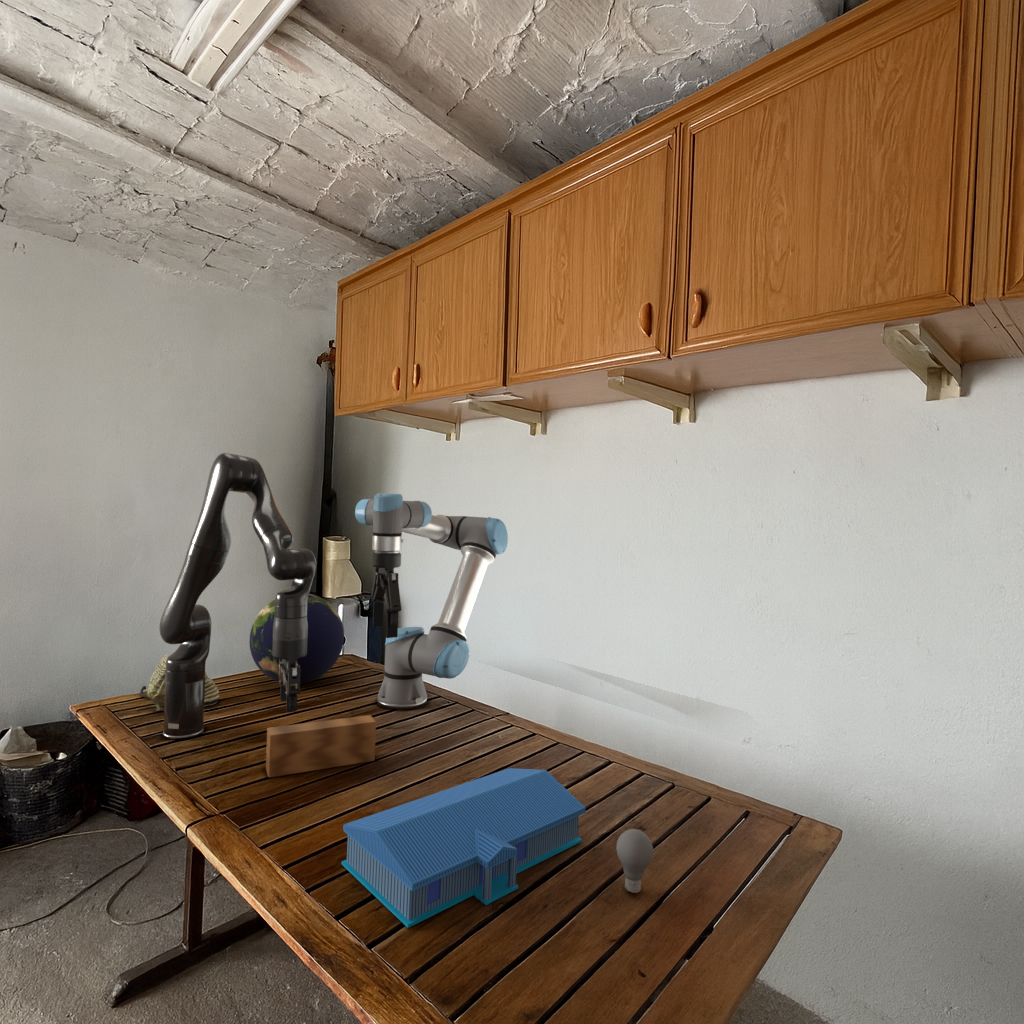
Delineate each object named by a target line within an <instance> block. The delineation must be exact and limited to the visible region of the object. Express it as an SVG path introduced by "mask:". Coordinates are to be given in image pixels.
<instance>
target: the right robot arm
mask: <svg viewBox="0 0 1024 1024" xmlns="http://www.w3.org/2000/svg"><path fill="white" fill-rule="evenodd" d="M403 498H404V497H403V495H402V494H401V493H382V492H378V493H376V494H375V495H374V497H373V498H363V499H361V500H359V501H358V502H357V504H355V505H356V506H355V508H354V510H355V511H354V516H355V519H356V521H357V522H358V523H359V524H361V525H366V526H372V542H371V543H372V544H371V545H372V546H371V550H372V551H373V552H372V554H371V566H372V567H374V577H373V583H372V588H371V594H370V598H371V599H372V602H373V603H372V627H373V628H377V627H384V611H385V613H386V632H385V635H386V636H385V643H384V674H383V675H384V676H383V680H382V682H381V686H380V687H379V691H378V692H377V693H378V694H377V698H376V703H377V705H378V706H379V707H381V708H384V709H388V710H397V711H398V710H399V711H400V710H402V711H404V710H405V711H406V710H413V709H419V708H421V707H423V706H425V705H426V704H427V702H428V694H427V691H426V685H425V684H424V680H423V675H427V676H431V677H436V678H439V679H448V680H449V679H450V680H451V679H455V678H456V677H458V676H459V675H461V674H462V673H463V671H464V670H465V668H466V667H467V664H468V662H469V658H470V646H469V644H468V643H467V641H468V637H467V636H466V633H465V631H466V628H467V625H468V623H469V620H470V617H471V614H472V612H473V609H474V605H475V603H476V601H477V597H478V595H479V591H480V588H481V586H482V584H483V580H484V577H485V574H486V571H487V569H488V566H489V565H491V564H492V563H494V562H495V560H496V557H497V555H498V556H499V555H502V554H504V553H505V552H506V550H507V547H508V543H509V536H508V529H507V527H506V524H505V523H504V521H502V519H500V518H496V517H491V516H488V517H484V516H482V517H481V516H480V517H479V516H467V515H445V514H436V515H433V512H432V508H431V507H430V505H429V503H427V502H426V501H421V500H404V499H403ZM403 533H406V534H409V535H412V536H413V535H414V536H418V537H422V538H427V539H429V541H430V542H432V543H434V544H437V545H441V546H443V547H448V548H450V549H452V550H453V549H454V550H457V551H460V553H461V555H462V557H461V560H460V562H459V566H458V568H457V570H456V573H455V576H454V580H453V581H452V584H451V587H450V590H449V592H448V595H447V598H446V601H445V603H444V606H443V608H442V611H441V614H440V617H439V619H438V622H437V623H435V624H433V625H432V626H431V627H430V629H429V631H428V633H427V634H426V633H425V628H423V627H422V626H406V627H405V626H404V627H399V612H401V611H402V602H401V594H400V584H399V573H398V572H395V568H396V569H397V568H400V567H401V565H402V554H401V551H402V543H404V539H403V538H402V535H403ZM384 602H386V604H387V609H386V610H384V609H385V604H384Z"/></svg>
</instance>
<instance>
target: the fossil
mask: <svg viewBox="0 0 1024 1024" xmlns="http://www.w3.org/2000/svg"><path fill="white" fill-rule="evenodd" d="M170 655H171V654H165V655H164V656H163V657H162V658H161V659H160V660H159V662H158V663H157V666H156V667H155V669H154V670H153V672H152V675H151V677H150V680H149V684H148V688H147V694H146V695H148V697H149V698H148V699H149V700H150V701H152V703H153V704H154V706H155V711H158V712H159V711H162V712H163V711H164V705H165V674H166V660H167V658H168V657H169V656H170ZM220 698H221V696H220V690H219V688H218V686H217V685H216V683H215V682H214V681H213V679H212V678H211V677H209V675H208V674H207V672H206V671H205V693H204V707H207V706H213V705H215V704H217V703H218V701H219V699H220Z"/></svg>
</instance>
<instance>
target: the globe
mask: <svg viewBox="0 0 1024 1024" xmlns="http://www.w3.org/2000/svg"><path fill="white" fill-rule="evenodd" d="M274 617H275V599H273V600H272V601H270V602H269V603H267V605H265V606H264V607H263V608H262V609H260V611H259V612H258V614H257V615H256V616H255V619H254V621H253V623H252V626H251V628H250V633H249V642H248V643H249V651H250V655H251V658H252V660H253V662H254V663H255V665H256V667H257V668H258V669H259V670H260V672H261V673H263V674H264V675H265V676H266V677H267V678H268V679H271V680H273V681H275V682H278V683H279V681H280V680H279V678H278V676H279V659H276V658H274V657H273V656H272V647H273V624H274ZM307 623H308V633H307V654H306V656H304V657H302V658H299V659H297V663H298V665H299V666H300V668H301V671H300V685H304V684H307V683H311V682H313V681H316V680H317V679H319V678H321V677H322V676H324V675H325V674H326V673H328V672H329V671H330V670H331V669H332V668H333V667H334V665H336V662H337V661H338V660H339V657H340V656H341V653H342V650H343V647H344V642H345V629H344V625H343V621H342V618H341V616H340V614H339V613H338V612H337V610H336V609H335V607H334V606H333V605H332V604H331V603H329V602H328V601H327V600H325V599H323V598H322V597H320V596H318V595H315V594H311V593H309V595H308V598H307Z"/></svg>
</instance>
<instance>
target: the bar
mask: <svg viewBox="0 0 1024 1024" xmlns="http://www.w3.org/2000/svg"><path fill="white" fill-rule="evenodd" d="M376 733H377V721H376V719H374V717H373V716H372V715H371V714H368V715H360V716H352V717H343V718H336V719H335V718H334V719H327V720H320V721H319V720H318V721H311V722H304V723H296V724H287V725H280V726H279V725H278V726H271V727H267V728H266V748H265V749H266V751H265V771H266V773H267V777H268V778H276V777H282V776H288V775H293V774H300V773H308V772H313V771H320V770H325V769H331V768H338V767H344V766H351V765H356V764H362V763H369V762H374V761H375V759H376V758H375V757H376V735H377V734H376Z"/></svg>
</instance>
